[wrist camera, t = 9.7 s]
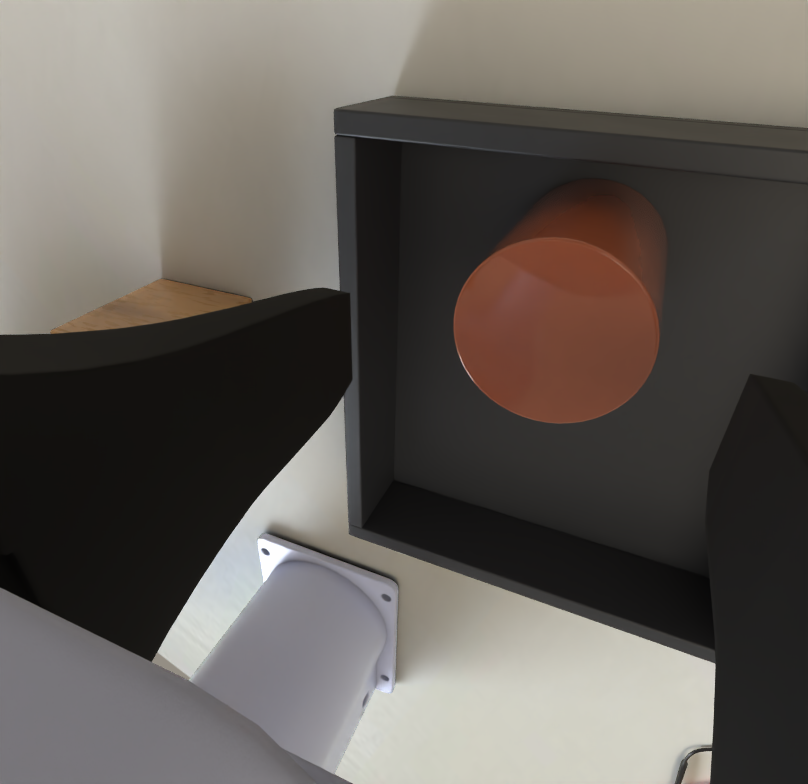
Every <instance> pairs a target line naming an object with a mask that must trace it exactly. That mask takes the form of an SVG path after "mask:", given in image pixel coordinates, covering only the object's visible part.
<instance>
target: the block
mask: <svg viewBox="0 0 808 784" xmlns="http://www.w3.org/2000/svg"><path fill="white" fill-rule="evenodd" d="M251 302H252V299H251V298H248V297H243V296H239V295H234V294H230V293H225V292H221V291H216V290H211V289H207V288H202V287H198V286H193V285H189V284H184V283H179V282H175V281H170V280H166V279H159V280H157V281H155V282H152V283H150V284H148V285H146V286H144V287H142V288H140V289H138V290H135V291H133V292H131V293H129V294H127V295H125V296H123V297H121V298H118V299H116V300H114V301H112V302H110V303H108V304H106V305H104V306H101V307H99V308H97V309H95V310H93V311H91V312H89V313H87V314H84V315H82V316H80V317H78V318H76V319H74V320H72V321H70V322H67V323H65V324H63V325H61V326H59V327H57V328H55V329H53V330H51V331H50V333H51V334H55V333H69V332H82V331H94V330H106V329H117V328H125V327H133V326H140V325H147V324H154V323H160V322H165V321H171V320H176V319H182V318H186V317H191V316H195V315H200V314H204V313H209V312H213V311H218V310H222V309H227V308H231V307H235V306H239V305H243V304H247V303H251Z"/></svg>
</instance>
